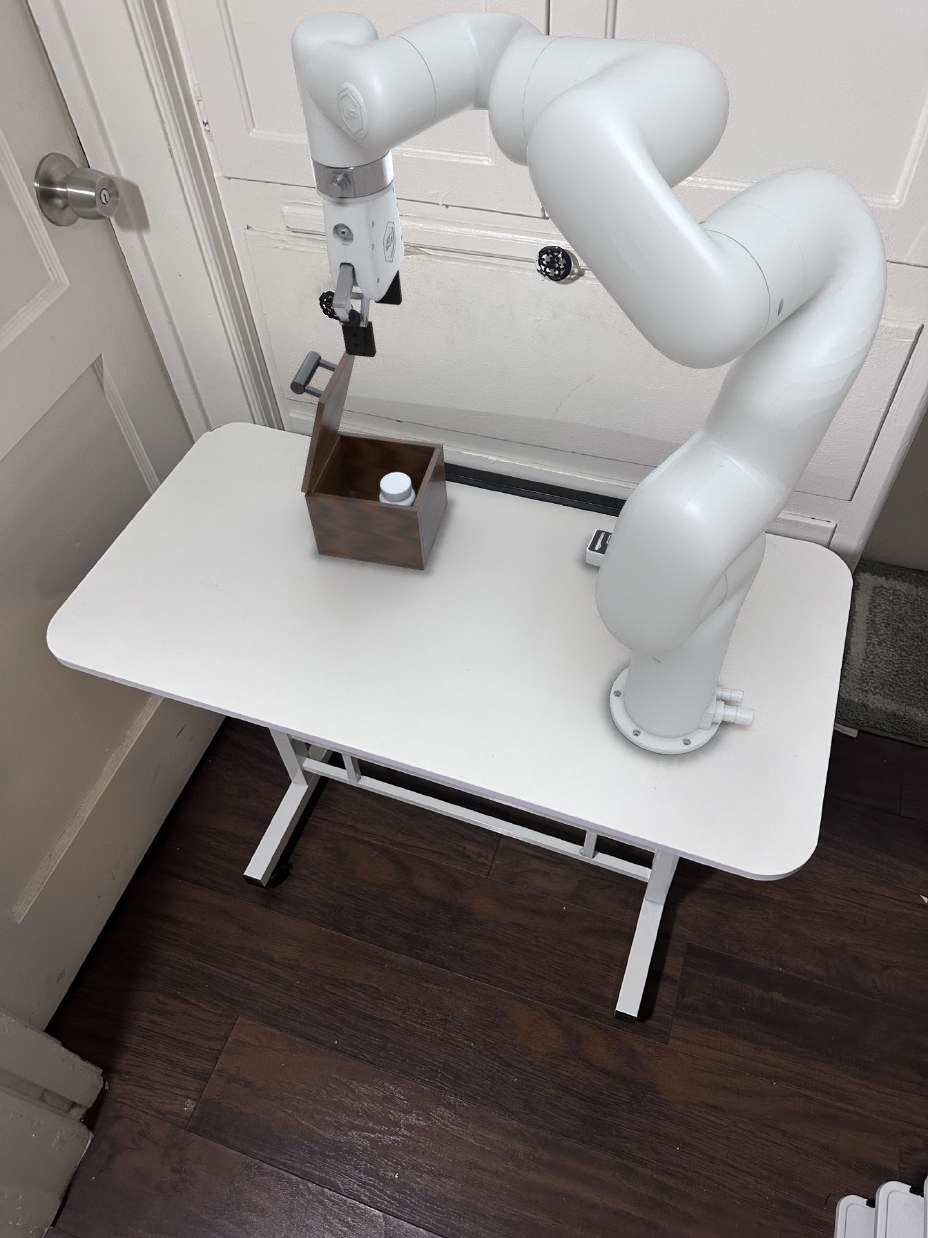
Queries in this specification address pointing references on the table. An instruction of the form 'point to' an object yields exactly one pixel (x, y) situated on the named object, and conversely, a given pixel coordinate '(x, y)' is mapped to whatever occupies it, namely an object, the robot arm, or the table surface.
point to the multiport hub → (597, 547)
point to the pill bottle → (397, 489)
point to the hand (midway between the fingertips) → (375, 327)
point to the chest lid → (323, 406)
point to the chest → (377, 500)
